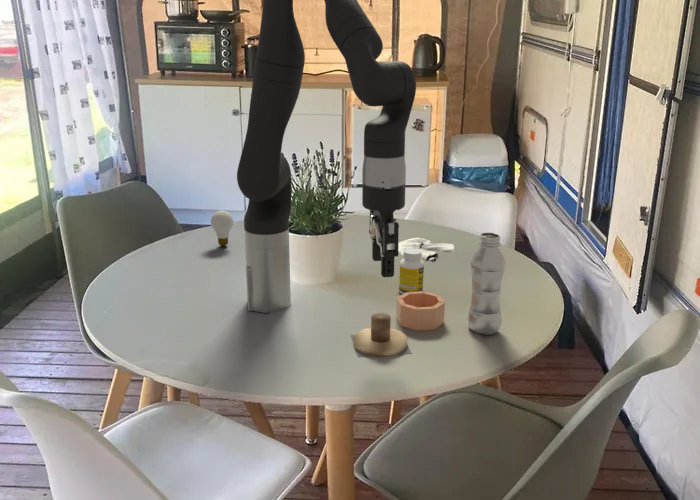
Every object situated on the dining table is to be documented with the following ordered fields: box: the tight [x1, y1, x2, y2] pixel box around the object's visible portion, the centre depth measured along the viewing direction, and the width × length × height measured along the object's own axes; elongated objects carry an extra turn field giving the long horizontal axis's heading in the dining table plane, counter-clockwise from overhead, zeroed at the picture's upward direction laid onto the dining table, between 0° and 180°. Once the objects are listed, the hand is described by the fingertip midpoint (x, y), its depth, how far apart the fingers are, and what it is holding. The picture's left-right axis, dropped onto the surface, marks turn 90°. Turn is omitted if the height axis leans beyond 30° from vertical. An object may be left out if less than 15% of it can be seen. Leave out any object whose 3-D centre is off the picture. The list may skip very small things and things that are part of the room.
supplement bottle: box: [398, 249, 425, 295], centre depth 153 cm, size 5×5×10 cm
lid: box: [353, 312, 408, 357], centre depth 127 cm, size 10×10×6 cm
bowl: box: [395, 291, 446, 331], centre depth 138 cm, size 9×9×5 cm
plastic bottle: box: [466, 232, 506, 336], centre depth 132 cm, size 6×7×20 cm
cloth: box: [398, 237, 456, 263], centre depth 181 cm, size 20×22×2 cm
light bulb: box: [210, 210, 234, 248], centre depth 183 cm, size 6×6×10 cm
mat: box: [350, 334, 412, 358], centre depth 128 cm, size 10×9×1 cm
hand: (382, 268), depth 123 cm, fingers open, 8 cm apart
